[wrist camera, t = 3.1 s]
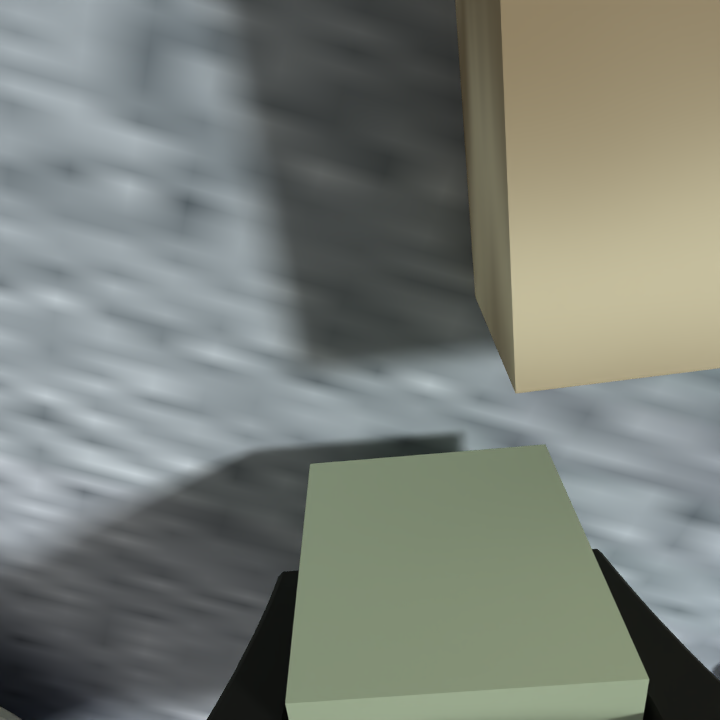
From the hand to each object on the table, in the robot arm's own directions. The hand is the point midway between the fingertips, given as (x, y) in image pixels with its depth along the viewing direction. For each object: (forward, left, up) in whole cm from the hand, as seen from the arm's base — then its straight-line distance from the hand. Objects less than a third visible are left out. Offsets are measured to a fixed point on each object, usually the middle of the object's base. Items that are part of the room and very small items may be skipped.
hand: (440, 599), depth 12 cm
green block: (0, 0, -2) cm, 2 cm away
